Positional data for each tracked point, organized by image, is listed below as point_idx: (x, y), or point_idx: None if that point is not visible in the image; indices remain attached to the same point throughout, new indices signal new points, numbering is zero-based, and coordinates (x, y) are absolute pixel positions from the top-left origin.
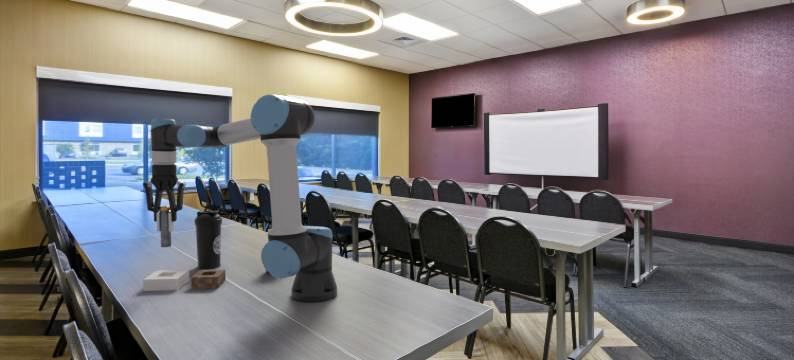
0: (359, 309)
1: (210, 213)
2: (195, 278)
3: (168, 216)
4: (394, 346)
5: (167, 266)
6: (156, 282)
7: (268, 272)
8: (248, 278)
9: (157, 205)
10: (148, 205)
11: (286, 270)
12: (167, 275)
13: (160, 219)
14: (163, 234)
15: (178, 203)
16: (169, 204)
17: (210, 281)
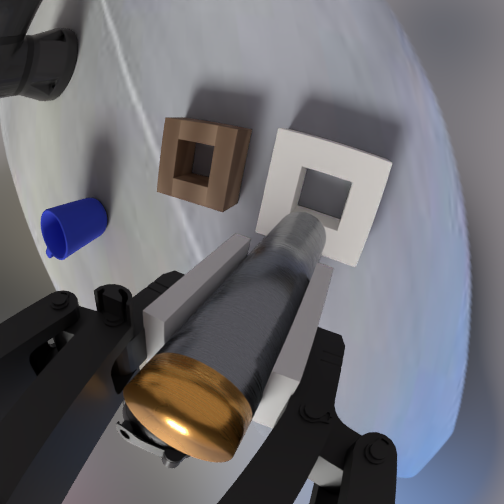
0: (41, 16)
1: (137, 433)
2: (226, 126)
3: (187, 298)
4: None
5: None
6: (349, 147)
7: (101, 204)
8: (132, 182)
9: (249, 467)
10: (378, 499)
11: None
12: (323, 221)
13: (281, 322)
14: (292, 239)
15: (9, 333)
16: (81, 388)
17: (192, 120)
